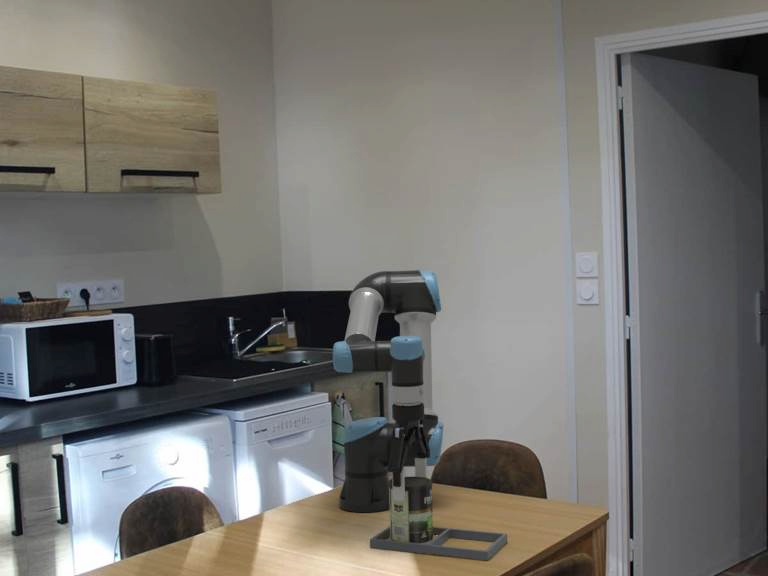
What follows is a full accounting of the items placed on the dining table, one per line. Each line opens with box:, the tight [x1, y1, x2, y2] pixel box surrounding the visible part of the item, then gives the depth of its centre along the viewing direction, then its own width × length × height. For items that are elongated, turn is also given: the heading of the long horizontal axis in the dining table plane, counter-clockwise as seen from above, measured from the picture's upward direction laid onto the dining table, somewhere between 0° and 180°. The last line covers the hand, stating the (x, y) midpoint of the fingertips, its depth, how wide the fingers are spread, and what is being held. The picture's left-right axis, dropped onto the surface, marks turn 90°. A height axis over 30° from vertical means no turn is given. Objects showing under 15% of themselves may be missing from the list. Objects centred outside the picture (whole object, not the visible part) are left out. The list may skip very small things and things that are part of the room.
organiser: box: [369, 526, 508, 562], centre depth 227 cm, size 15×28×2 cm, turn 66°
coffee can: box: [388, 476, 434, 544], centre depth 230 cm, size 10×10×14 cm
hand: (410, 492), depth 230 cm, fingers open, 13 cm apart
